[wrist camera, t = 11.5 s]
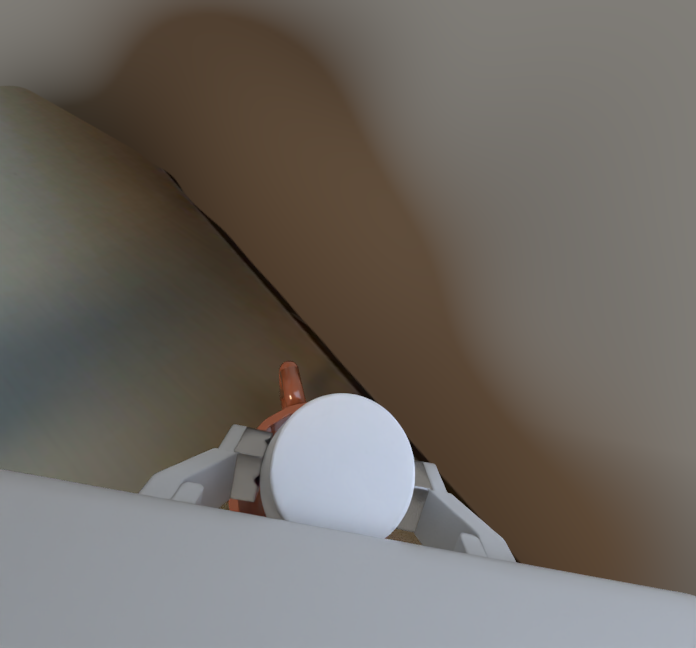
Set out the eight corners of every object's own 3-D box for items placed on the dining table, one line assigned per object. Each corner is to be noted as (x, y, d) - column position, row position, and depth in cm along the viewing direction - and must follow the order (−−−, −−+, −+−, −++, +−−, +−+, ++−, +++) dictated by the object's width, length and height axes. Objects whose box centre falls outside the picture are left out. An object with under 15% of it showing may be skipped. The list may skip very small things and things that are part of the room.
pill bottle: (247, 476, 16) (218, 439, 9) (328, 418, 18) (359, 350, 11) (303, 574, 14) (323, 628, 7) (384, 499, 16) (465, 482, 9)
